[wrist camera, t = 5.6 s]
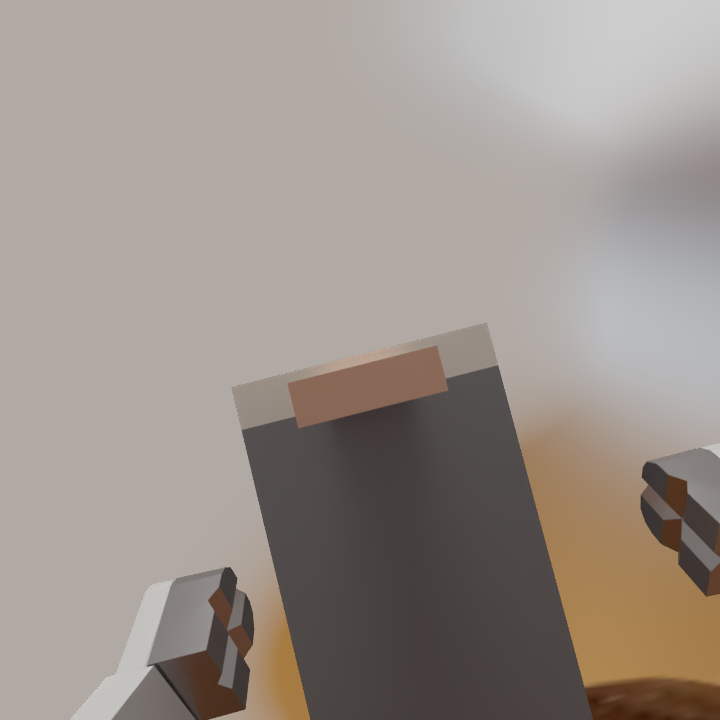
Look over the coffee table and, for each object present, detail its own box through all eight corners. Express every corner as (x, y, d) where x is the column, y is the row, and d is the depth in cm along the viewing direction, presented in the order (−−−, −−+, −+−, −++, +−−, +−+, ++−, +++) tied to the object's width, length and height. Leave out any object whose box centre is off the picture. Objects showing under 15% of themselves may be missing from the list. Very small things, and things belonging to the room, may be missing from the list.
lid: (599, 352, 12) (577, 278, 12) (147, 466, 12) (130, 391, 12) (461, 370, 29) (453, 339, 29) (276, 416, 29) (268, 385, 29)
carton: (656, 956, 20) (498, 365, 21) (383, 1026, 20) (241, 430, 21) (571, 790, 28) (461, 370, 29) (378, 839, 28) (276, 416, 29)
